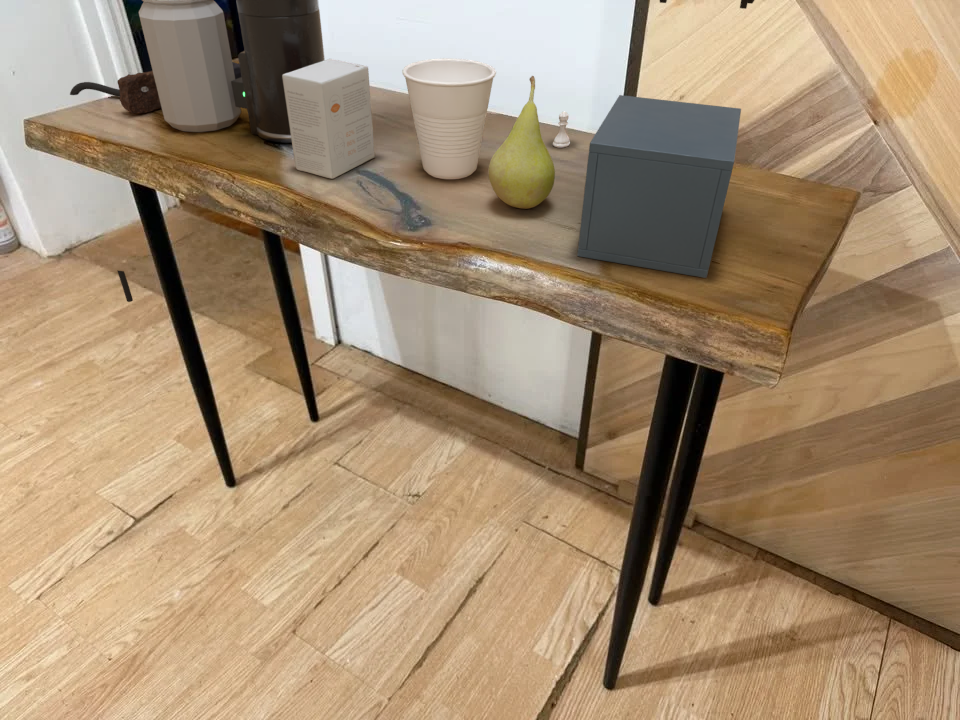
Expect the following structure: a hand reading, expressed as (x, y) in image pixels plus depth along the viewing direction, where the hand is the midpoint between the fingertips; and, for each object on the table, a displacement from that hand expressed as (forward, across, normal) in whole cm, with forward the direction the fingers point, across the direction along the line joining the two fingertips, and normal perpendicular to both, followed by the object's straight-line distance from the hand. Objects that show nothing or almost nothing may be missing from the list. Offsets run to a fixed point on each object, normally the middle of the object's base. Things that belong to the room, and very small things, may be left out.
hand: (702, 1), depth 77 cm
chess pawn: (+14, -14, +10) cm, 22 cm away
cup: (+23, -24, +1) cm, 33 cm away
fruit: (+27, -14, -3) cm, 30 cm away
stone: (+19, -70, +4) cm, 72 cm away
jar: (+20, -60, +3) cm, 63 cm away
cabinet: (+28, 0, -4) cm, 28 cm away
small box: (+25, -37, -2) cm, 44 cm away
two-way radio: (+9, -63, +11) cm, 64 cm away
